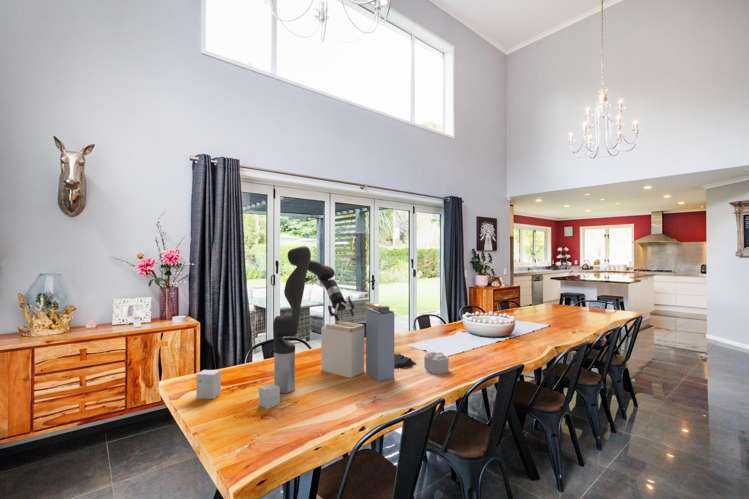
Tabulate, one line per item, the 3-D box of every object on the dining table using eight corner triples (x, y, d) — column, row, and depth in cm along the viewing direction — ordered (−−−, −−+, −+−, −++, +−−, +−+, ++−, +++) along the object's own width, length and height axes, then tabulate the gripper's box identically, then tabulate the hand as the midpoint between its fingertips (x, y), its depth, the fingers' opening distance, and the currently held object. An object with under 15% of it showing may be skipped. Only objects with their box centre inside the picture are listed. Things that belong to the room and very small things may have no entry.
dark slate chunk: (394, 355, 213) (394, 348, 213) (418, 365, 195) (418, 357, 195) (373, 360, 204) (373, 351, 204) (396, 370, 186) (396, 361, 186)
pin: (389, 313, 174) (389, 306, 174) (380, 314, 172) (380, 307, 172) (370, 307, 194) (370, 301, 194) (362, 307, 192) (362, 301, 192)
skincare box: (271, 400, 147) (271, 382, 147) (280, 404, 144) (280, 386, 144) (258, 405, 143) (258, 387, 143) (267, 409, 139) (267, 390, 139)
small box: (221, 394, 154) (221, 370, 154) (213, 399, 148) (214, 374, 148) (203, 393, 154) (203, 369, 154) (195, 398, 149) (196, 373, 149)
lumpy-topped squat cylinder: (437, 375, 179) (437, 358, 179) (419, 368, 189) (419, 352, 189) (451, 371, 185) (451, 354, 185) (433, 364, 195) (433, 349, 195)
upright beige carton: (364, 371, 183) (364, 324, 183) (351, 378, 174) (351, 328, 174) (334, 364, 194) (335, 320, 194) (321, 370, 185) (321, 323, 185)
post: (394, 378, 174) (394, 311, 174) (377, 381, 170) (378, 312, 170) (381, 369, 186) (381, 307, 187) (365, 372, 182) (366, 308, 183)
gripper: (323, 295, 200) (333, 318, 190) (347, 288, 205) (357, 310, 195) (323, 302, 205) (333, 325, 196) (346, 295, 210) (356, 317, 201)
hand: (345, 318), depth 196 cm, fingers open, 8 cm apart
